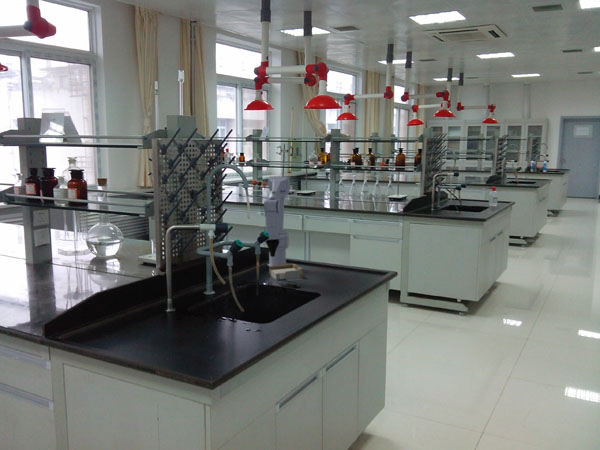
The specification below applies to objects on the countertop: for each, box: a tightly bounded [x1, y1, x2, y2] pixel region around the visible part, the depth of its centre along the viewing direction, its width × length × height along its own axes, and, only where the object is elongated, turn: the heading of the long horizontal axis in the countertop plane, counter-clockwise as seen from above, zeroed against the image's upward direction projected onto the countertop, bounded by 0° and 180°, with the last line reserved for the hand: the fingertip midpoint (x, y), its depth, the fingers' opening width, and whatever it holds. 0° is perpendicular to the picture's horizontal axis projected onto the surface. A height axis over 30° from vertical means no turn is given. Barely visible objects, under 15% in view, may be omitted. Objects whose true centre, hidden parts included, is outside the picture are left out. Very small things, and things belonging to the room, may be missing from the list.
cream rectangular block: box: [270, 268, 296, 281], centre depth 236 cm, size 7×11×3 cm, turn 112°
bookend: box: [284, 270, 304, 282], centre depth 230 cm, size 4×7×4 cm, turn 112°
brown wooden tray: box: [268, 263, 304, 279], centre depth 236 cm, size 11×12×4 cm
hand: (272, 256), depth 235 cm, fingers closed
